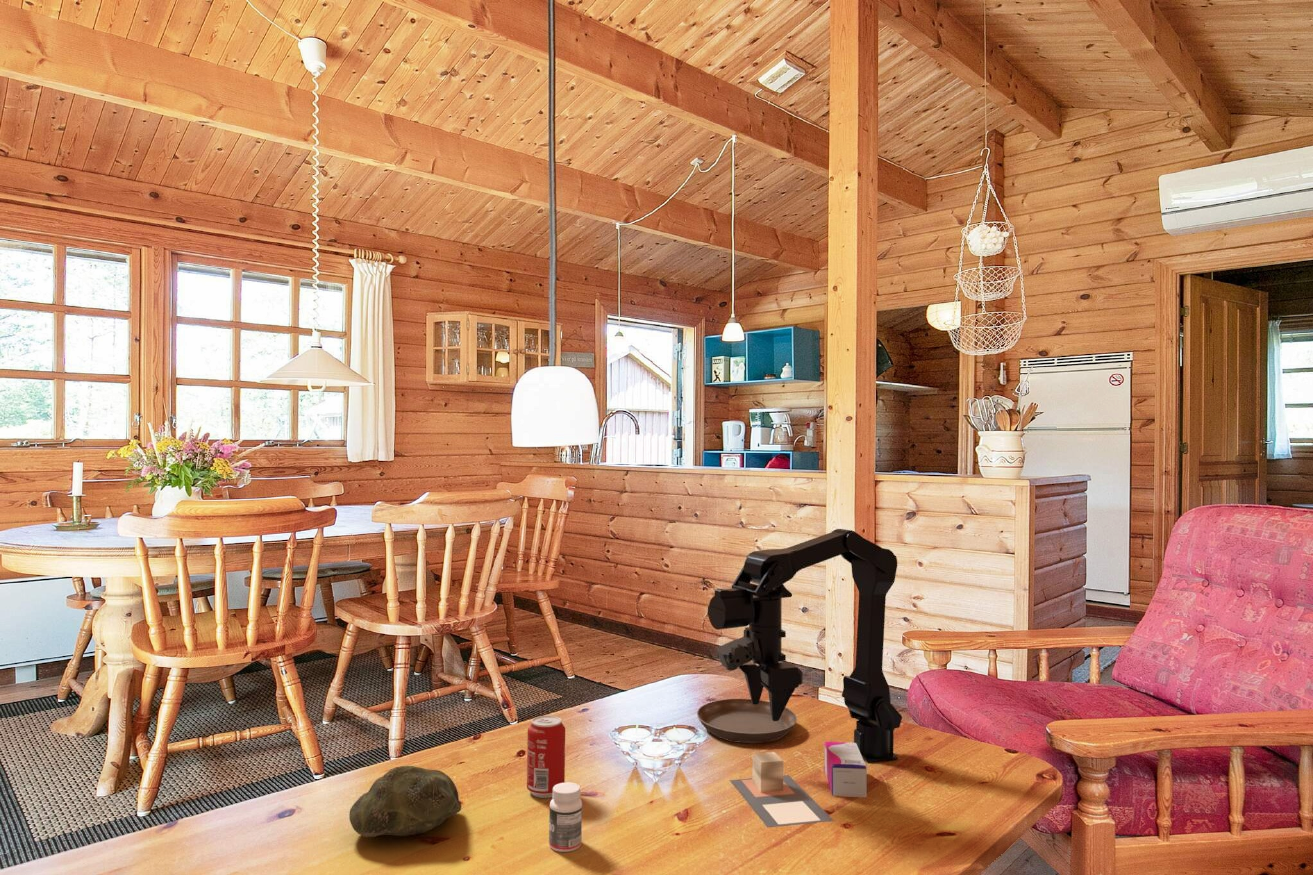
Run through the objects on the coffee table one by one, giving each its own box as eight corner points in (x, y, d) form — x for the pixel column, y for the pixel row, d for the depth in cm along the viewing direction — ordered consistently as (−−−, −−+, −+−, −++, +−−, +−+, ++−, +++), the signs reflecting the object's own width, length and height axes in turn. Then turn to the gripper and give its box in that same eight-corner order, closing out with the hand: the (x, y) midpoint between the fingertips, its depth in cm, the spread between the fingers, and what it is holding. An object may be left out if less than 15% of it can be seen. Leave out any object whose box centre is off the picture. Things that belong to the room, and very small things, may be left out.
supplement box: (867, 802, 135) (856, 773, 147) (867, 766, 135) (857, 740, 146) (831, 800, 136) (824, 771, 147) (831, 765, 136) (824, 739, 147)
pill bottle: (549, 837, 121) (550, 780, 121) (581, 836, 121) (582, 780, 121) (548, 853, 116) (549, 794, 116) (581, 852, 117) (582, 793, 117)
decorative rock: (374, 816, 130) (374, 752, 132) (472, 812, 130) (471, 747, 131) (335, 853, 116) (334, 779, 117) (445, 848, 115) (443, 774, 116)
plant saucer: (804, 748, 159) (805, 731, 159) (699, 747, 159) (699, 730, 159) (788, 714, 180) (788, 699, 180) (694, 712, 180) (694, 697, 180)
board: (788, 778, 144) (788, 774, 144) (834, 824, 126) (834, 820, 126) (729, 783, 141) (729, 779, 141) (767, 831, 124) (767, 827, 124)
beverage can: (571, 788, 138) (572, 717, 139) (551, 802, 133) (552, 728, 133) (539, 781, 141) (541, 712, 141) (519, 795, 135) (520, 722, 136)
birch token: (774, 781, 141) (774, 752, 141) (783, 790, 137) (783, 760, 137) (752, 782, 140) (752, 753, 140) (760, 792, 136) (761, 762, 136)
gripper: (705, 615, 151) (705, 699, 151) (741, 638, 133) (741, 734, 133) (761, 612, 154) (761, 695, 154) (804, 634, 136) (804, 728, 136)
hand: (765, 712), depth 144 cm, fingers open, 9 cm apart
